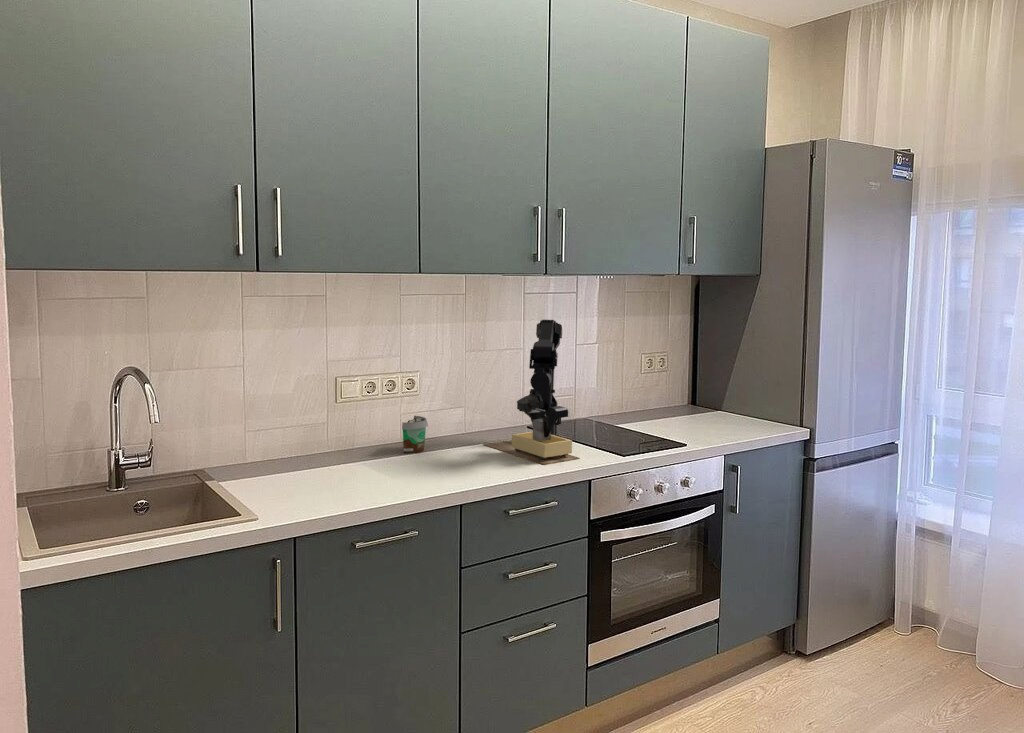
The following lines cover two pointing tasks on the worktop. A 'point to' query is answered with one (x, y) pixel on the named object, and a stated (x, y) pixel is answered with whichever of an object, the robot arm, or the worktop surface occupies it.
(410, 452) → the food container
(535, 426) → the charcoal block
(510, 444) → the brown board
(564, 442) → the wooden tray
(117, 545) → the worktop surface
